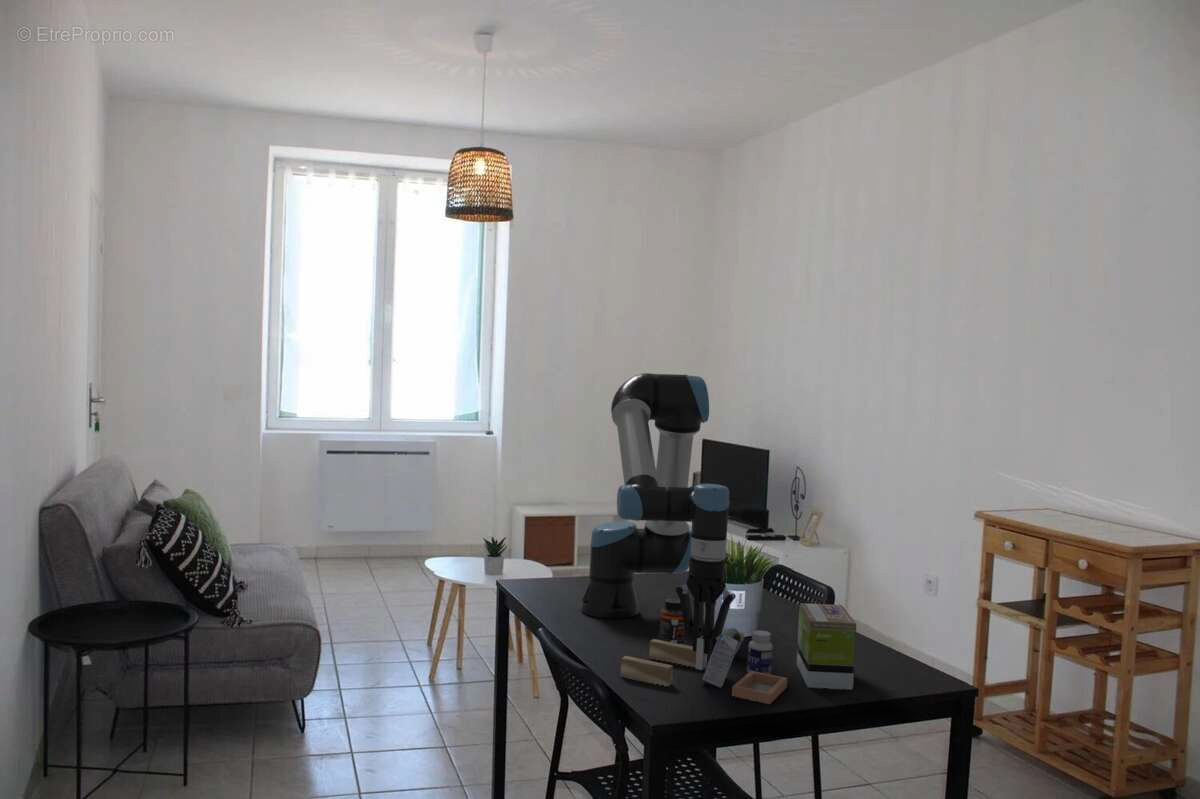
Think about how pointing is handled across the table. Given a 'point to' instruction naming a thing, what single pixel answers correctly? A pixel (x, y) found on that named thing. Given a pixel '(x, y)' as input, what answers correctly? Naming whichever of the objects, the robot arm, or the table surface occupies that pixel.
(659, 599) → the table surface
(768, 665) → the pill bottle
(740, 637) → the pale green rounded piece
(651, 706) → the table surface
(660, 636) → the supplement bottle
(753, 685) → the tray
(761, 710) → the table surface
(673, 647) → the parallel beige slabs
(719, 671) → the medicine box
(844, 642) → the tea box
